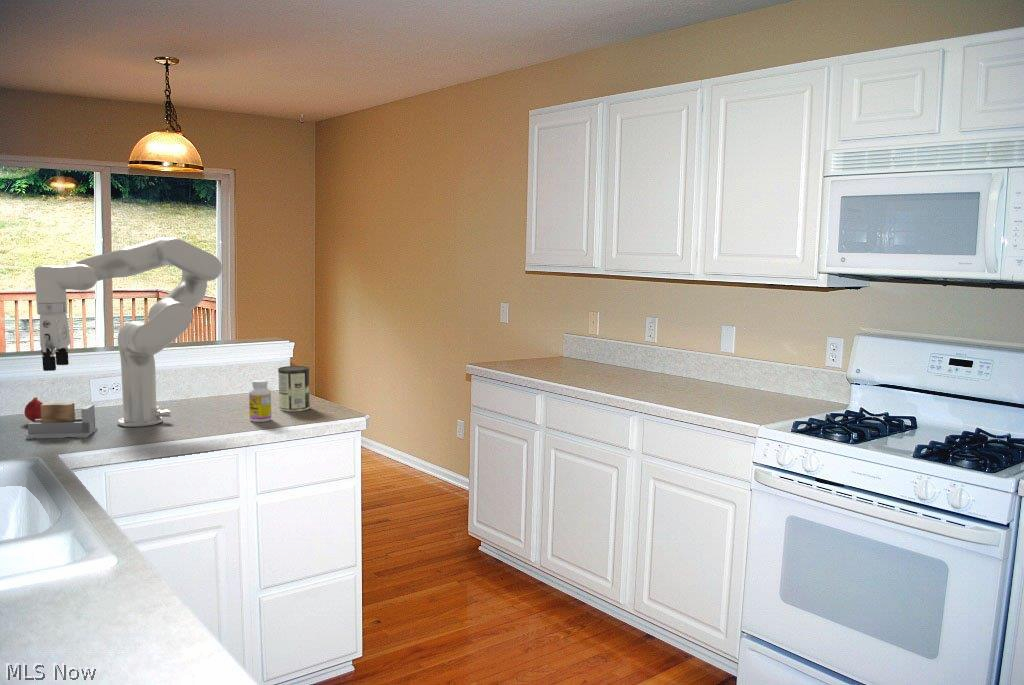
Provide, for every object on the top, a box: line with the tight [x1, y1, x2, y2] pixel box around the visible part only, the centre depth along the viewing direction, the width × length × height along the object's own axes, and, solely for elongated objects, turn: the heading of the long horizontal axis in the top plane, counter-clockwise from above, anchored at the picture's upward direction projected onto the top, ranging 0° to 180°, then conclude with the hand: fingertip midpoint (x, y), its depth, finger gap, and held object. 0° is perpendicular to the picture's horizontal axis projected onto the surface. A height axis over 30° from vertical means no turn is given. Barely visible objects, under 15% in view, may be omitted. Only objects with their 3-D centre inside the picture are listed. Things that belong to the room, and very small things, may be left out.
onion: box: [23, 396, 44, 423], centre depth 246 cm, size 6×6×8 cm
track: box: [25, 404, 98, 440], centre depth 233 cm, size 16×9×8 cm, turn 100°
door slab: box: [41, 402, 76, 423], centre depth 233 cm, size 8×3×8 cm, turn 101°
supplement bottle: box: [248, 379, 272, 423], centre depth 255 cm, size 7×7×13 cm
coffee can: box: [277, 365, 311, 413], centre depth 273 cm, size 10×10×14 cm
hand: (56, 367), depth 231 cm, fingers open, 9 cm apart
